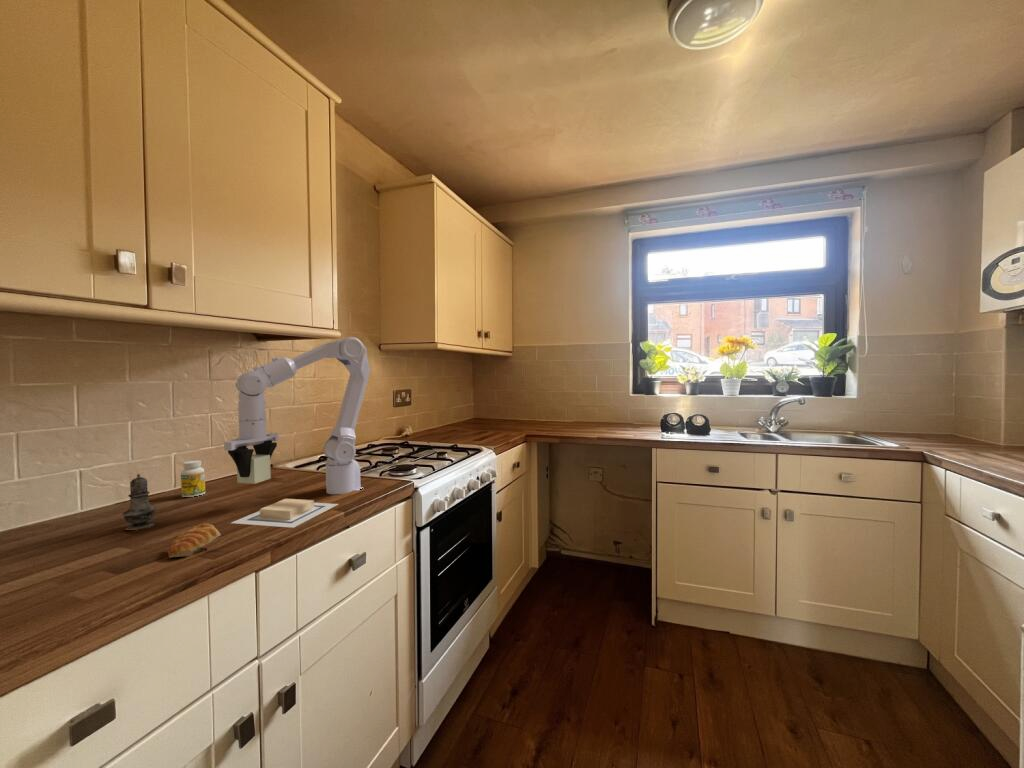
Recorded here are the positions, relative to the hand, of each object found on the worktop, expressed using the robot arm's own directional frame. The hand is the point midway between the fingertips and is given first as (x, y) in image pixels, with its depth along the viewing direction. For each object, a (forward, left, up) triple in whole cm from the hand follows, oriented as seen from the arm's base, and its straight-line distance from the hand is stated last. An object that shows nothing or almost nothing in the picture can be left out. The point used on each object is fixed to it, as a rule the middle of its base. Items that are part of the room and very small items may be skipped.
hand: (254, 474), depth 103 cm
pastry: (+21, +6, -10) cm, 24 cm away
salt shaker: (+14, -17, -9) cm, 24 cm away
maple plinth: (+3, +12, -8) cm, 15 cm away
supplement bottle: (-8, -28, -9) cm, 31 cm away
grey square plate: (+3, +12, -9) cm, 15 cm away
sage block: (0, 0, -2) cm, 2 cm away
